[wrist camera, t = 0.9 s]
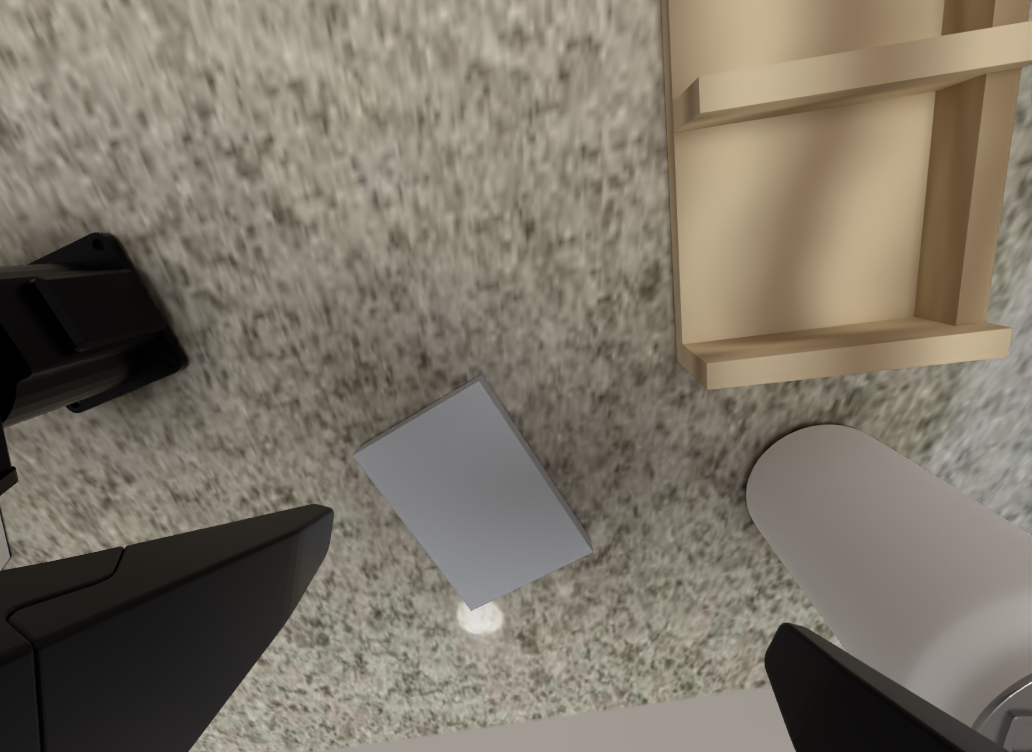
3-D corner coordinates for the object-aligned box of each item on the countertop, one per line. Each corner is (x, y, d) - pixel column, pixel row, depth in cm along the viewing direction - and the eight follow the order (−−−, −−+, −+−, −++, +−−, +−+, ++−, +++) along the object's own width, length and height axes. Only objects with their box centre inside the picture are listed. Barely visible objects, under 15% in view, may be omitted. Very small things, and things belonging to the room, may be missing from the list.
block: (473, 596, 25) (471, 610, 24) (360, 446, 23) (352, 455, 22) (590, 539, 24) (593, 552, 23) (481, 374, 22) (478, 380, 21)
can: (873, 543, 23) (1203, 851, 12) (736, 544, 23) (922, 843, 12) (897, 418, 21) (1317, 637, 10) (747, 421, 22) (981, 636, 10)
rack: (676, 361, 21) (707, 390, 17) (652, -194, 16) (688, -332, 12) (919, 332, 20) (1008, 356, 16) (979, -266, 15) (1132, -439, 11)
